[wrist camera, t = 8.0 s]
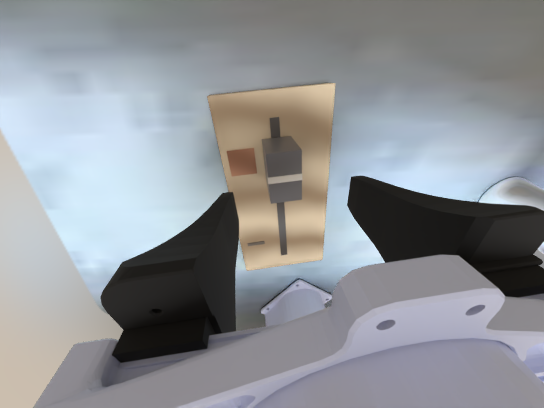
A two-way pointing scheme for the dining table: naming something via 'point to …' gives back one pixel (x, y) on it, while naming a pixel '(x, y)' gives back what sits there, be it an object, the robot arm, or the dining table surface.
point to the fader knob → (283, 169)
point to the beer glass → (515, 195)
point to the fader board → (251, 170)
